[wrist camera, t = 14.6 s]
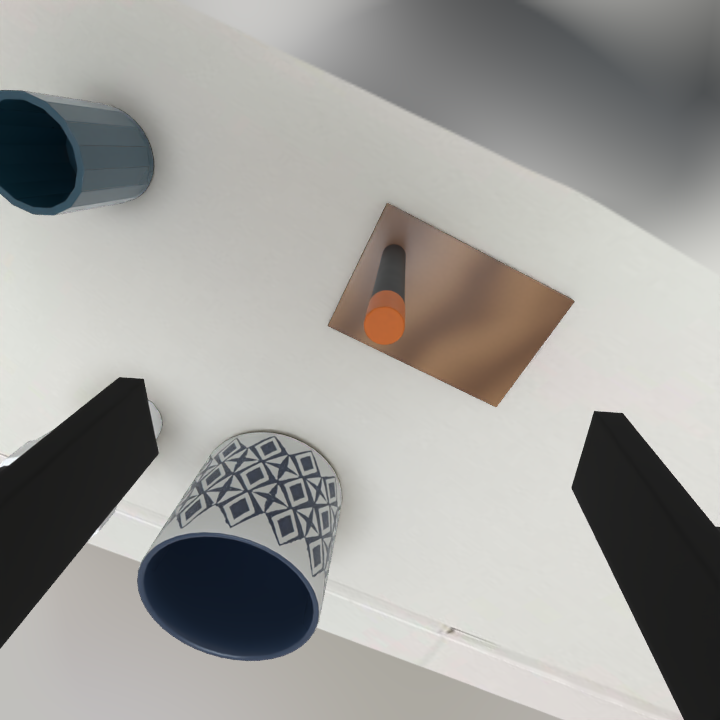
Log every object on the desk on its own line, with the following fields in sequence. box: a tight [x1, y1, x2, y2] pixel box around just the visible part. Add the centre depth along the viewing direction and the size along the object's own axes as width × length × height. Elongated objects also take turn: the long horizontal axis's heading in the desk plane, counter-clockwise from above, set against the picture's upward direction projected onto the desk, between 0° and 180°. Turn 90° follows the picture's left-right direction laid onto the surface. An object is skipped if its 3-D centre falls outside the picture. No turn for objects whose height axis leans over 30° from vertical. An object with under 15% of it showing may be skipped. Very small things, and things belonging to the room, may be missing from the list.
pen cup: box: [0, 90, 154, 215], centre depth 33 cm, size 7×7×9 cm
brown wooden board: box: [328, 203, 574, 407], centre depth 40 cm, size 18×12×1 cm, turn 64°
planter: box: [137, 432, 342, 661], centre depth 44 cm, size 16×16×14 cm
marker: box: [364, 244, 406, 345], centre depth 30 cm, size 2×2×17 cm
